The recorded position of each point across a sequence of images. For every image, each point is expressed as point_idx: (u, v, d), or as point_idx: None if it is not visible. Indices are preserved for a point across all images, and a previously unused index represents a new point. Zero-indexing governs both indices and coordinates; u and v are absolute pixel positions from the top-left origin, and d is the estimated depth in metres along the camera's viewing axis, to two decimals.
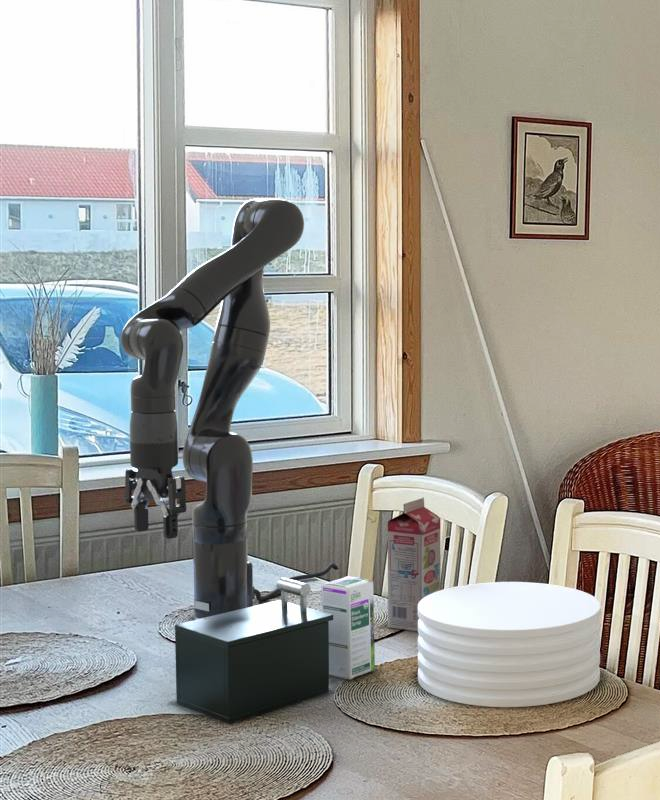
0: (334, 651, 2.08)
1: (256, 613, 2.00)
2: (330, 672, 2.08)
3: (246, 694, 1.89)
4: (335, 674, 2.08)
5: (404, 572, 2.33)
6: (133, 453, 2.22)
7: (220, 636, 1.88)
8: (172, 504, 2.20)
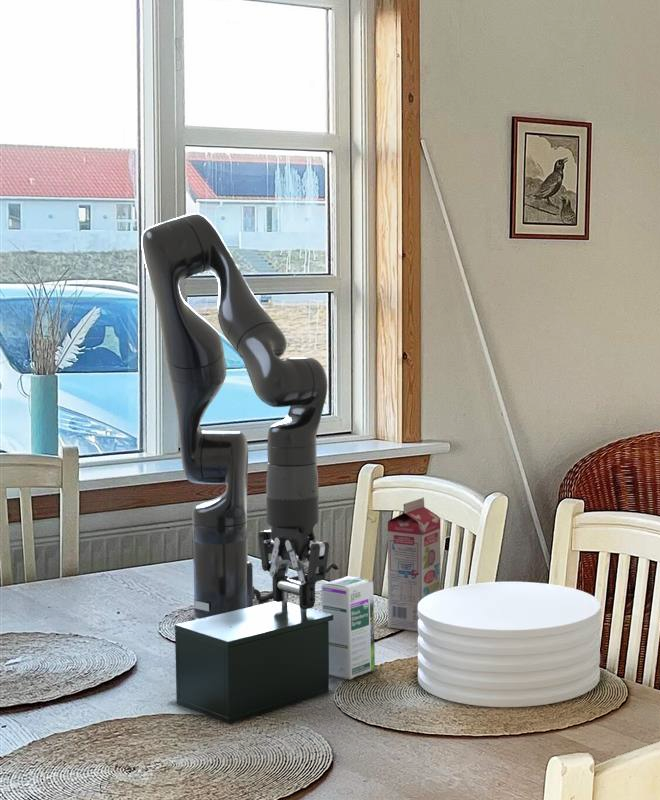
0: (334, 651, 2.08)
1: (256, 613, 2.00)
2: (330, 672, 2.08)
3: (246, 694, 1.89)
4: (335, 674, 2.08)
5: (404, 572, 2.33)
6: (271, 511, 1.97)
7: (220, 636, 1.88)
8: (312, 572, 1.97)
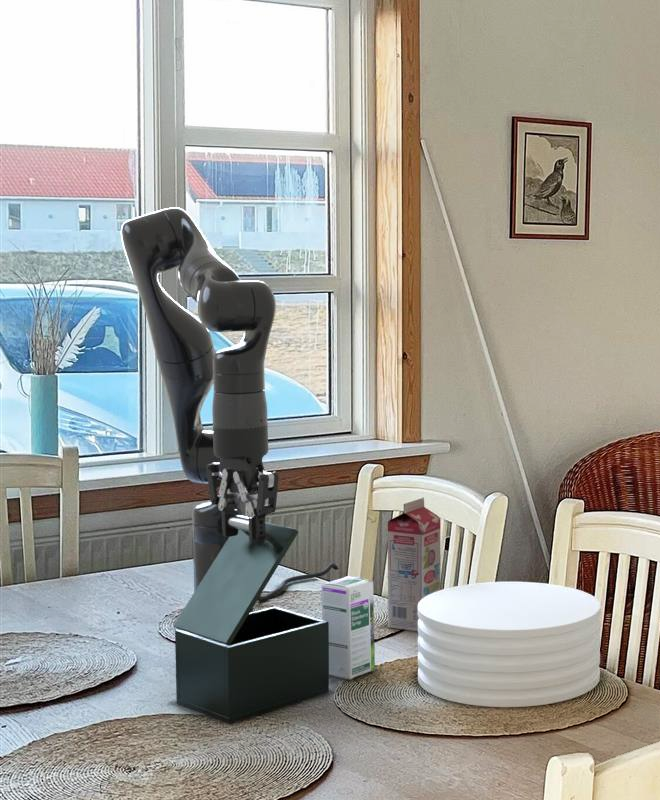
0: (334, 651, 2.08)
1: (230, 561, 1.96)
2: (330, 672, 2.08)
3: (246, 694, 1.89)
4: (335, 674, 2.08)
5: (404, 572, 2.33)
6: (218, 441, 1.89)
7: (216, 633, 1.88)
8: (261, 504, 1.89)
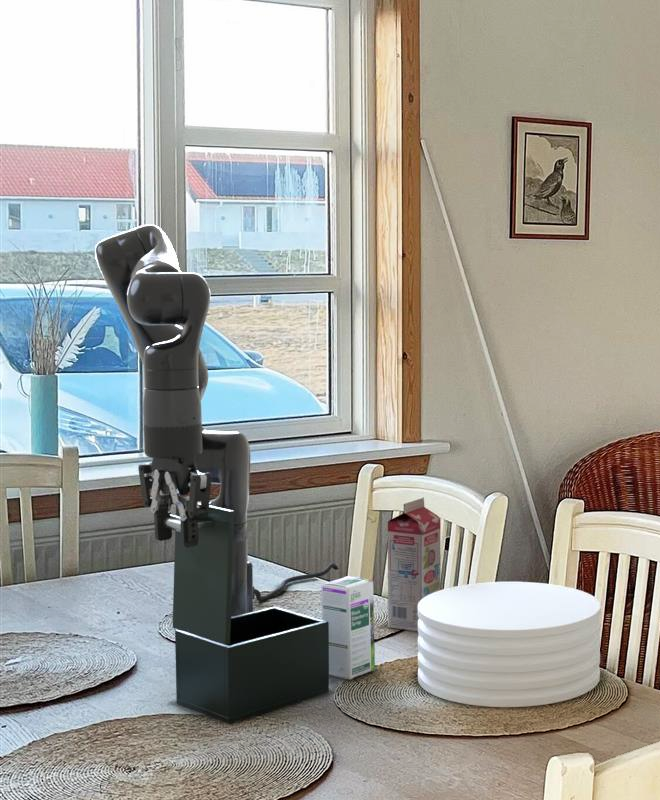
0: (334, 651, 2.08)
1: (189, 552, 1.90)
2: (330, 672, 2.08)
3: (246, 694, 1.89)
4: (335, 674, 2.08)
5: (404, 572, 2.33)
6: (148, 439, 1.81)
7: (212, 634, 1.87)
8: (193, 506, 1.80)
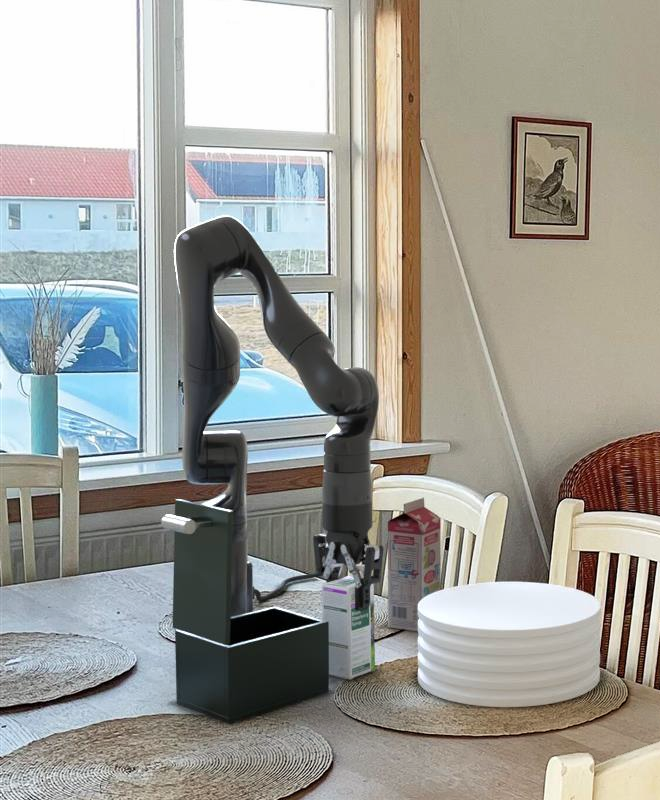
0: (334, 651, 2.08)
1: (188, 552, 1.90)
2: (330, 672, 2.08)
3: (246, 694, 1.89)
4: (335, 674, 2.08)
5: (404, 572, 2.33)
6: (327, 516, 2.04)
7: (212, 634, 1.87)
8: (368, 575, 2.04)
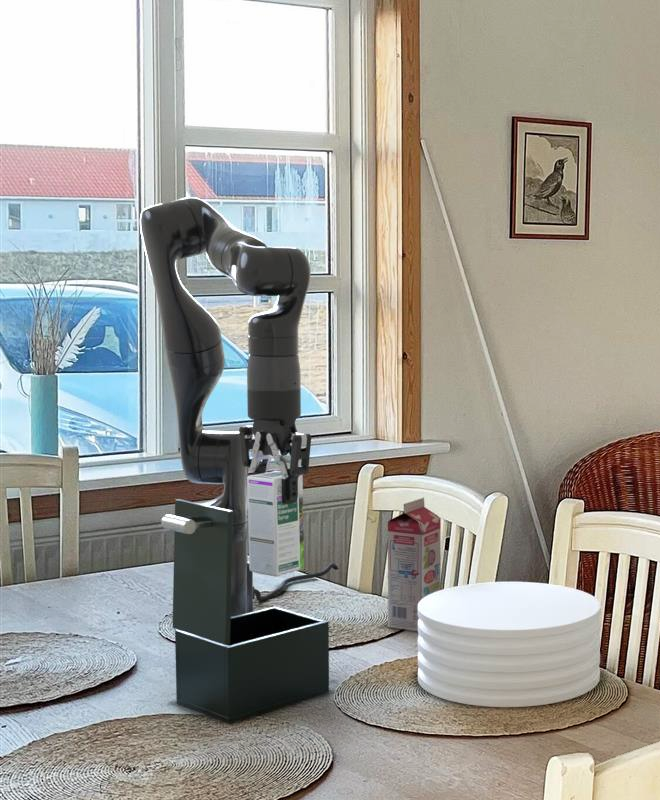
0: (260, 547, 1.96)
1: (188, 552, 1.90)
2: (256, 570, 1.97)
3: (246, 694, 1.89)
4: (261, 572, 1.97)
5: (404, 572, 2.33)
6: (252, 403, 1.93)
7: (212, 634, 1.87)
8: (294, 465, 1.92)
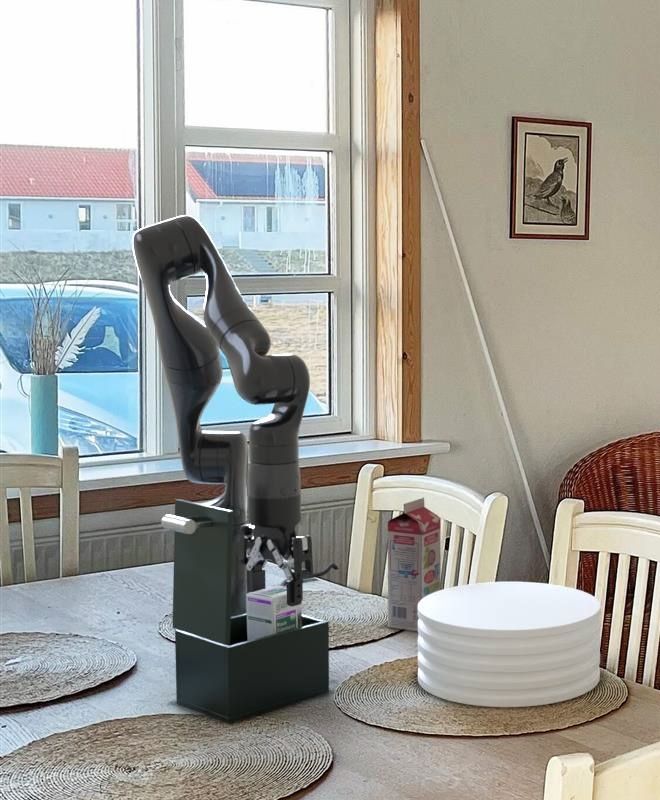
0: None
1: (188, 552, 1.90)
2: None
3: (246, 694, 1.89)
4: None
5: (404, 572, 2.33)
6: (253, 510, 1.95)
7: (212, 634, 1.87)
8: (298, 568, 1.93)
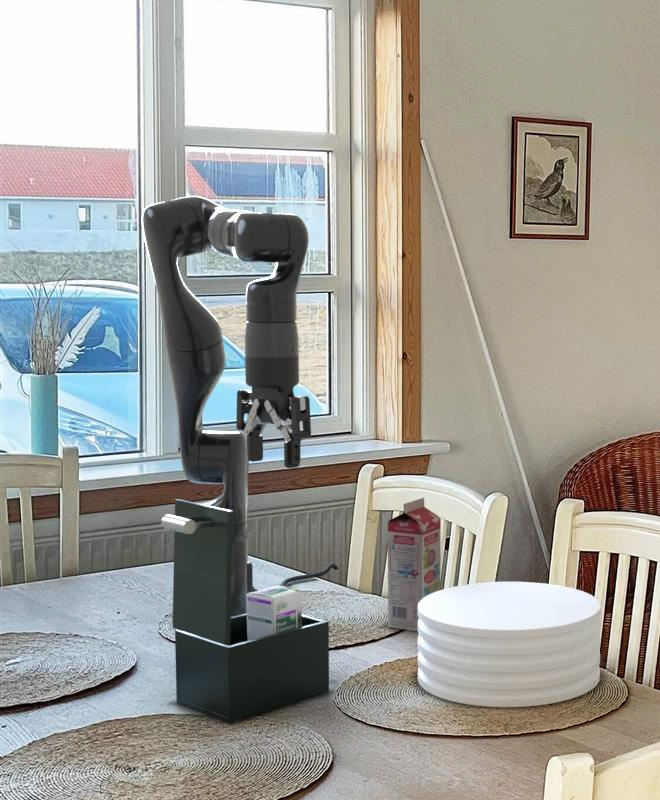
0: None
1: (188, 552, 1.90)
2: None
3: (246, 694, 1.89)
4: None
5: (404, 572, 2.33)
6: (250, 369, 1.92)
7: (212, 634, 1.87)
8: (296, 427, 1.91)
